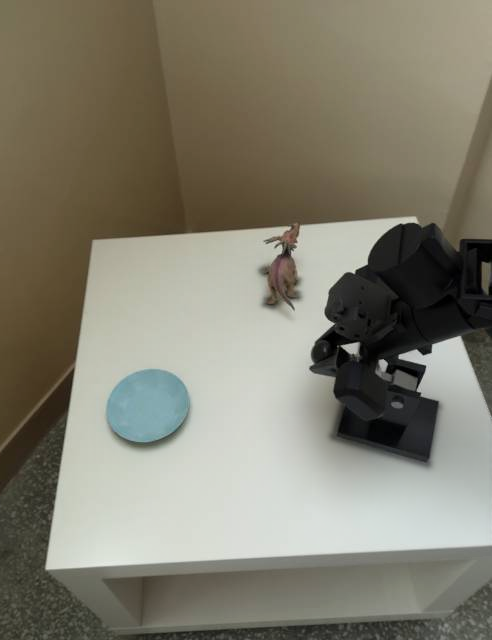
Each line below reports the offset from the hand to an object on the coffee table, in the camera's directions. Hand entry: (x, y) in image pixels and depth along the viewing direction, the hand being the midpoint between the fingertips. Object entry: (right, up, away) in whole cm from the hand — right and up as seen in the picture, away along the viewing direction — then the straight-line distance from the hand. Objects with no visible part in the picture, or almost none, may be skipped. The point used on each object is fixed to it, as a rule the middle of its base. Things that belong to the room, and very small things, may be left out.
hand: (314, 357), depth 67 cm
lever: (+5, -2, 0) cm, 6 cm away
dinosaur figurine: (-2, +12, +21) cm, 24 cm away
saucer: (-22, -8, +10) cm, 25 cm away
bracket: (+11, -9, +6) cm, 15 cm away
